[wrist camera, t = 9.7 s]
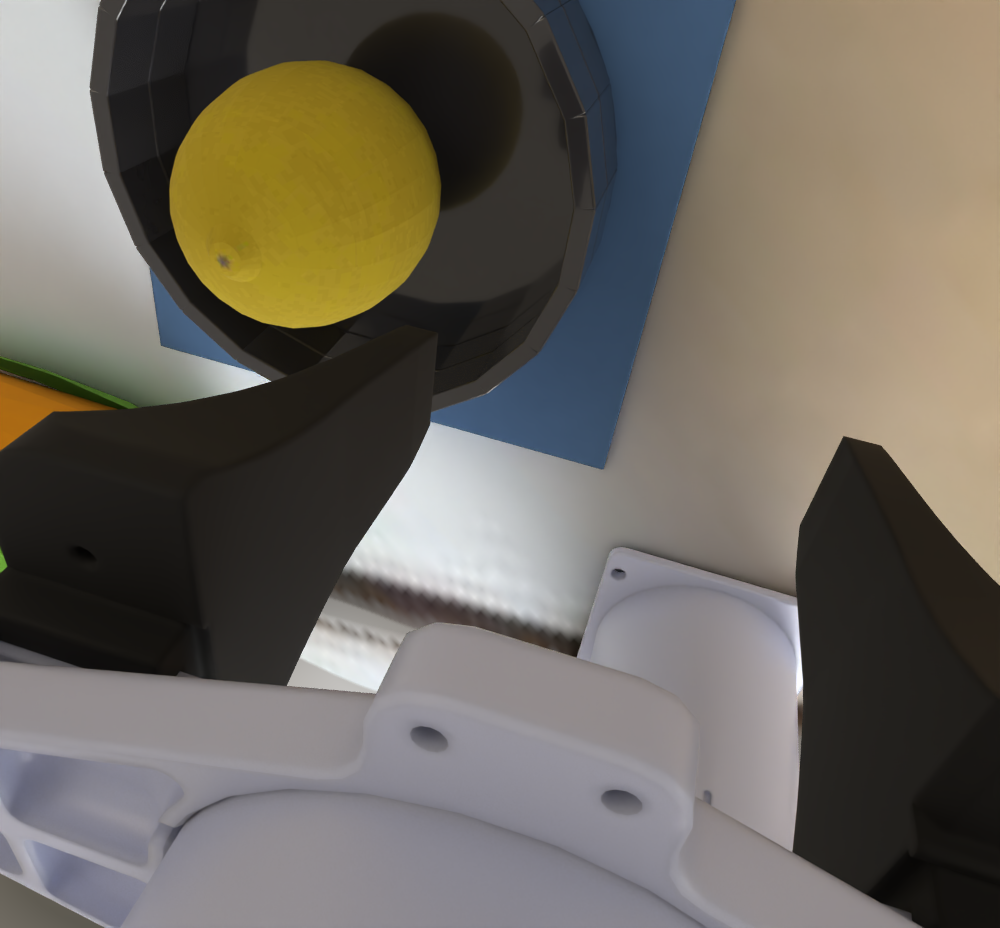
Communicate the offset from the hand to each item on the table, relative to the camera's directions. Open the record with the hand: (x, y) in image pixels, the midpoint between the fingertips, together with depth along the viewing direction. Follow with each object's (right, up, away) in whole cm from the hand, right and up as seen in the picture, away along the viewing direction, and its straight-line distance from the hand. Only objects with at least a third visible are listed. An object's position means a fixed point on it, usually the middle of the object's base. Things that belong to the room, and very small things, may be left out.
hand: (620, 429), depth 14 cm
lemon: (-5, +8, +8) cm, 12 cm away
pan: (-5, +8, +8) cm, 12 cm away
